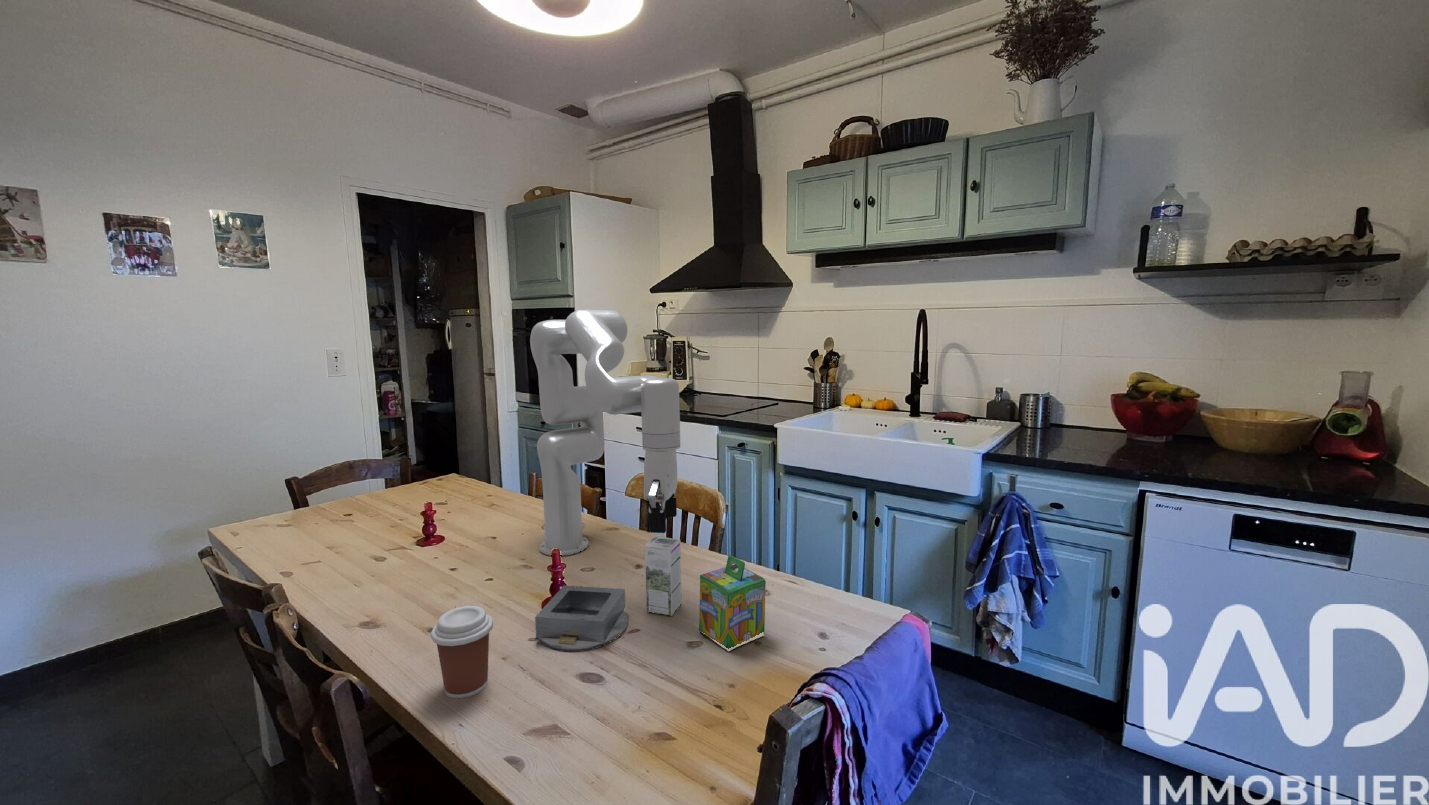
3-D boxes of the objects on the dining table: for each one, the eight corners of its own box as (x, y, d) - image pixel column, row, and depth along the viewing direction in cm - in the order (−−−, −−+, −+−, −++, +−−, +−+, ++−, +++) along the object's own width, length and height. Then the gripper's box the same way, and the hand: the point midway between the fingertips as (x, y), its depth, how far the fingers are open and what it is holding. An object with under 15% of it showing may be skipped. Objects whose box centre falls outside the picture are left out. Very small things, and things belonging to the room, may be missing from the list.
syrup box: (682, 604, 117) (681, 537, 116) (671, 618, 112) (670, 548, 110) (657, 600, 119) (656, 534, 118) (645, 613, 114) (643, 544, 112)
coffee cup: (486, 702, 87) (481, 629, 85) (425, 706, 86) (419, 632, 84) (503, 667, 96) (499, 601, 94) (448, 670, 95) (443, 603, 93)
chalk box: (698, 632, 107) (697, 558, 105) (735, 617, 112) (735, 546, 110) (728, 654, 99) (728, 574, 97) (766, 637, 105) (767, 561, 103)
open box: (559, 603, 118) (558, 580, 118) (637, 608, 116) (637, 585, 115) (521, 647, 102) (519, 621, 101) (611, 654, 99) (610, 628, 99)
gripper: (653, 433, 120) (656, 510, 122) (630, 448, 103) (633, 538, 105) (688, 433, 119) (689, 511, 121) (670, 449, 102) (672, 540, 104)
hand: (663, 524), depth 113 cm, fingers open, 9 cm apart
